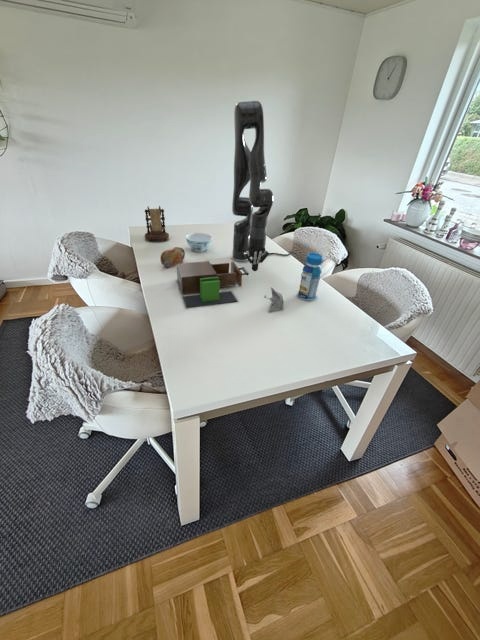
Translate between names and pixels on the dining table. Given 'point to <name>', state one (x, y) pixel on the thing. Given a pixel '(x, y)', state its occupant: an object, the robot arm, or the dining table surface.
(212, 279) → the green ridged box
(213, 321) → the dining table surface
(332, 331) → the dining table surface
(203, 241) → the chinaware
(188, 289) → the cabinet
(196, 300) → the placemat
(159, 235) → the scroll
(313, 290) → the beverage bottle
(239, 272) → the drawer
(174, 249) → the tin
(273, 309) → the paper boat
